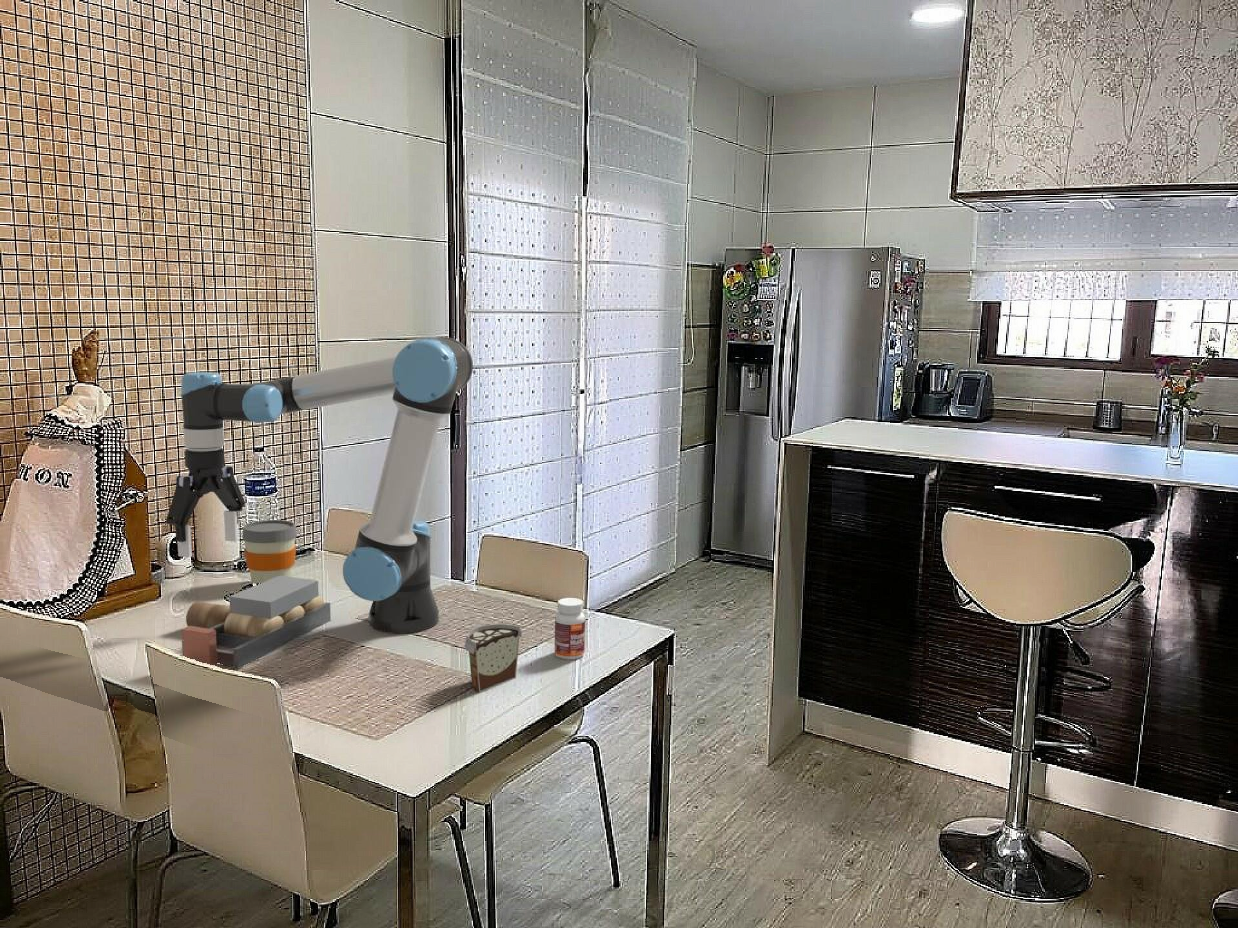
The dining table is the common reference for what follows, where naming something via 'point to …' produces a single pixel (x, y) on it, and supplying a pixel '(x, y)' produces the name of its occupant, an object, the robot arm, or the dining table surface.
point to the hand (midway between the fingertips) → (209, 548)
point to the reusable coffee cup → (269, 549)
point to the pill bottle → (570, 629)
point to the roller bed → (247, 639)
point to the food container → (493, 655)
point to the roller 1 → (206, 614)
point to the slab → (273, 597)
